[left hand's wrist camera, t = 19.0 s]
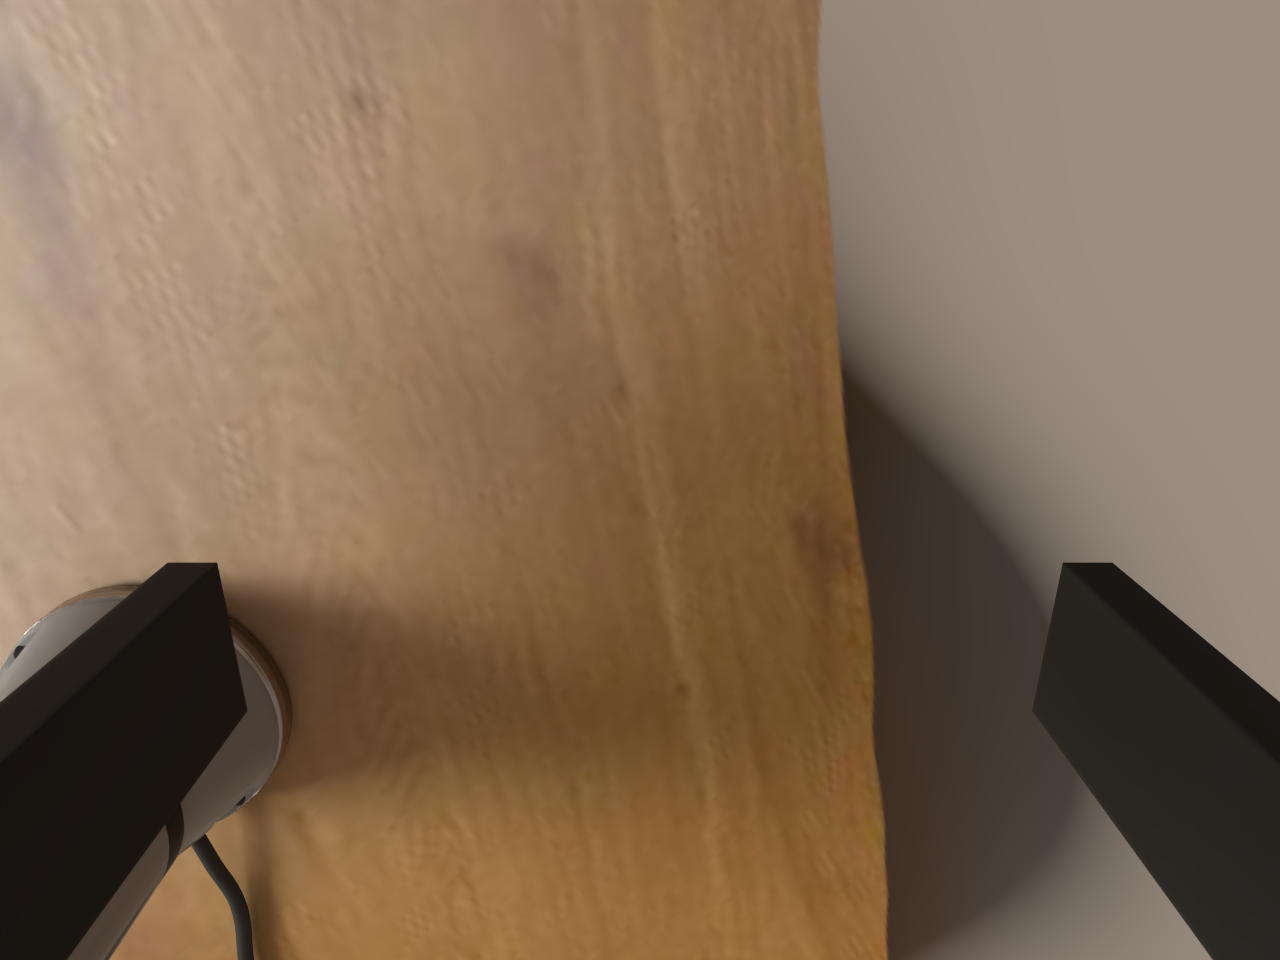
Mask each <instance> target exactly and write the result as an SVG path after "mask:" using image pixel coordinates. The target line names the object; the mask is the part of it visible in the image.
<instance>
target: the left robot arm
mask: <svg viewBox="0 0 1280 960" xmlns="http://www.w3.org/2000/svg"><path fill="white" fill-rule="evenodd" d="M1032 711H1033V712H1034V714H1035V715H1036V716H1037V718H1038V719H1039V721H1040V722H1041V723H1042V725H1043V726H1044V727H1045V729H1046V730H1047V732H1048V733H1049V734H1050V736H1051V737H1052V739H1053V740H1054V741H1055V743H1056V744H1057V745H1058V747H1059V748H1060V750H1061V751H1062V752H1063V754H1064V755H1065V756H1066V758H1067V759H1068V761H1069V762H1070V763H1071V765H1072V766H1073V767H1074V769H1075V770H1076V772H1077V773H1078V774H1079V776H1080V777H1081V779H1082V780H1083V781H1084V783H1085V784H1086V785H1087V787H1088V788H1089V790H1090V791H1091V792H1092V794H1093V795H1094V796H1095V798H1096V799H1097V801H1098V802H1099V803H1100V805H1101V806H1102V807H1103V809H1104V810H1105V811H1106V813H1107V814H1108V816H1109V817H1110V818H1111V820H1112V821H1113V823H1114V824H1115V825H1116V827H1117V828H1118V830H1119V831H1120V832H1121V834H1122V835H1123V836H1124V838H1125V839H1126V841H1127V842H1128V843H1129V845H1130V846H1131V847H1132V849H1133V850H1134V852H1135V853H1136V854H1137V856H1138V857H1139V859H1140V860H1141V861H1142V863H1143V864H1144V865H1145V867H1146V868H1147V870H1148V871H1149V872H1150V874H1151V875H1152V876H1153V878H1154V879H1155V881H1156V882H1157V883H1158V885H1159V886H1160V887H1161V889H1162V890H1163V892H1164V893H1165V894H1166V896H1167V897H1168V898H1169V900H1170V901H1171V903H1172V904H1173V905H1174V907H1175V908H1176V910H1177V911H1178V912H1179V914H1180V915H1181V916H1182V918H1183V919H1184V921H1185V922H1186V923H1187V925H1188V926H1189V927H1190V929H1191V930H1192V931H1193V933H1194V934H1195V936H1196V937H1197V938H1198V940H1199V941H1200V943H1201V944H1202V945H1203V947H1204V948H1205V950H1206V951H1207V952H1208V954H1209V955H1210V956H1211V958H1212V959H1213V960H1280V702H1279V701H1278V700H1277V699H1275V698H1274V697H1273V696H1272V695H1271V694H1269V693H1268V692H1267V691H1266V690H1265V689H1263V688H1262V687H1261V686H1260V685H1259V684H1257V683H1256V682H1255V681H1254V680H1253V679H1251V678H1250V677H1249V676H1248V675H1247V674H1245V673H1244V672H1243V671H1242V670H1241V669H1239V668H1238V667H1237V666H1236V665H1235V664H1233V663H1232V662H1231V661H1230V660H1228V659H1227V658H1226V657H1225V656H1224V655H1223V654H1221V653H1220V652H1219V651H1218V650H1217V649H1215V648H1214V647H1213V646H1212V645H1211V644H1209V643H1208V642H1207V641H1206V640H1205V639H1203V638H1202V637H1201V636H1200V635H1199V634H1197V633H1196V632H1195V631H1194V630H1192V629H1191V628H1190V627H1189V626H1188V625H1186V624H1185V623H1184V622H1183V621H1182V620H1180V619H1179V618H1178V617H1177V616H1176V615H1174V614H1173V613H1172V612H1171V611H1170V610H1168V609H1167V608H1166V607H1165V606H1164V605H1162V604H1161V603H1160V602H1159V601H1158V600H1156V599H1155V598H1154V597H1153V596H1152V595H1150V594H1149V593H1148V592H1147V591H1146V590H1144V589H1143V588H1142V587H1141V586H1139V585H1138V584H1137V583H1136V582H1135V581H1134V580H1132V579H1131V578H1130V577H1129V576H1128V575H1126V574H1125V573H1124V572H1123V571H1122V570H1120V569H1119V568H1118V567H1117V566H1116V565H1114V564H1113V563H1063V565H1062V570H1061V574H1060V579H1059V584H1058V589H1057V594H1056V599H1055V604H1054V608H1053V613H1052V618H1051V623H1050V628H1049V633H1048V638H1047V642H1046V647H1045V652H1044V657H1043V662H1042V667H1041V671H1040V676H1039V681H1038V686H1037V691H1036V696H1035V700H1034V705H1033V710H1032ZM290 728H291V708H290V701H289V697H288V693H287V689H286V687H285V684H284V681H283V679H282V677H281V675H280V673H279V670H278V669H277V667H276V665H275V664H274V662H273V660H272V659H271V657H270V656H269V655H268V653H267V652H266V651H265V649H264V648H263V647H262V646H261V645H260V644H259V642H258V641H257V640H256V639H255V638H254V637H253V636H252V635H251V634H250V633H249V632H248V631H246V630H245V629H244V628H243V627H242V626H240V625H239V624H238V623H237V622H235V621H234V620H233V619H231V618H230V617H228V613H227V608H226V604H225V599H224V594H223V589H222V584H221V579H220V574H219V570H218V565H217V563H167V564H166V565H164V566H163V567H162V568H161V569H160V570H158V571H157V572H156V573H155V574H154V575H152V576H151V577H150V578H149V579H148V580H146V581H145V582H144V583H143V584H142V585H140V586H114V587H106V588H101V589H96V590H92V591H89V592H86V593H83V594H80V595H78V596H76V597H73V598H71V599H69V600H67V601H66V602H64V603H63V604H61V605H59V606H58V607H56V608H55V609H54V610H52V611H51V612H50V613H48V614H47V615H46V616H44V617H43V618H42V619H40V620H39V621H38V622H37V623H35V624H34V625H33V626H32V627H30V628H29V629H28V630H27V631H26V633H25V634H24V635H23V636H22V637H21V638H20V640H19V641H18V642H17V644H16V645H15V646H14V648H13V649H12V650H11V652H10V653H9V655H8V657H7V659H6V661H5V662H4V664H3V666H2V669H1V671H0V960H109V959H110V958H111V956H112V955H113V953H114V952H115V950H116V949H117V947H118V946H119V944H120V943H121V941H122V939H123V938H124V936H125V935H126V933H127V932H128V930H129V929H130V927H131V926H132V924H133V923H134V921H135V920H136V918H137V917H138V915H139V914H140V912H141V910H142V909H143V907H144V906H145V904H146V903H147V901H148V900H149V898H150V897H151V895H152V894H153V892H154V891H155V889H156V888H157V886H158V885H159V883H160V882H161V880H162V879H163V877H164V876H165V874H166V873H167V871H168V870H169V868H170V867H171V865H172V864H173V862H174V861H175V859H176V858H177V856H178V855H179V854H181V853H182V852H183V851H185V850H186V849H187V848H189V847H190V846H192V847H193V849H194V851H195V852H196V854H197V856H198V857H199V859H200V861H201V862H202V864H203V865H204V867H205V869H206V870H207V872H208V873H209V875H210V876H211V877H212V879H213V880H214V882H215V883H216V884H217V886H218V887H219V888H220V890H221V891H222V892H223V894H224V896H225V897H226V899H227V901H228V903H229V905H230V908H231V911H232V914H233V918H234V923H235V930H236V942H237V955H238V960H254V955H253V944H252V928H251V920H250V914H249V910H248V906H247V903H246V900H245V898H244V896H243V893H242V891H241V889H240V887H239V886H238V884H237V882H236V881H235V879H234V878H233V876H232V875H231V873H230V872H229V871H228V869H227V868H226V867H225V865H224V864H223V862H222V861H221V859H220V858H219V856H218V854H217V853H216V851H215V849H214V848H213V846H212V844H211V843H210V841H209V839H208V838H207V836H206V833H207V832H208V831H209V830H210V829H211V828H212V826H213V825H214V824H215V823H216V822H218V821H221V820H223V819H224V818H226V817H228V816H229V815H231V814H232V813H234V812H236V811H237V810H238V809H239V808H241V807H242V806H243V805H244V804H246V803H247V802H248V801H249V800H250V799H251V798H252V797H253V796H254V795H255V794H256V793H257V792H258V791H259V790H260V789H261V788H262V787H263V785H264V784H265V783H266V781H267V780H268V778H269V777H270V775H271V773H272V772H273V770H274V769H275V767H276V765H277V764H278V762H279V760H280V758H281V757H282V755H283V753H284V751H285V748H286V746H287V743H288V739H289V735H290Z"/></svg>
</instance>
